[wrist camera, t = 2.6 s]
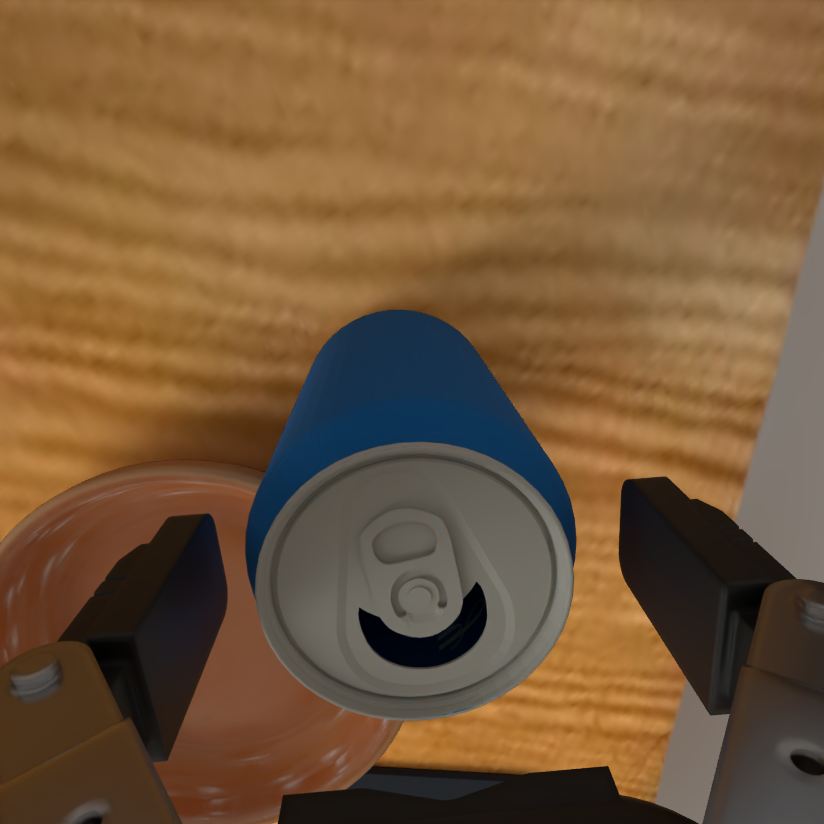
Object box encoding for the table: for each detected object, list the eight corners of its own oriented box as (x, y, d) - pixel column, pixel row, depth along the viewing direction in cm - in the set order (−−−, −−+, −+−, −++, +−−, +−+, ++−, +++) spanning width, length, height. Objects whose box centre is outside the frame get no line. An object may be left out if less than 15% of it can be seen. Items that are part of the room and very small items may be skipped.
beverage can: (334, 493, 23) (289, 769, 12) (285, 329, 21) (173, 471, 10) (500, 455, 23) (618, 698, 12) (467, 287, 21) (573, 380, 9)
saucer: (13, 400, 21) (-43, 430, 18) (452, 478, 23) (462, 516, 20) (9, 746, 26) (-36, 812, 23) (373, 788, 28) (372, 853, 25)
